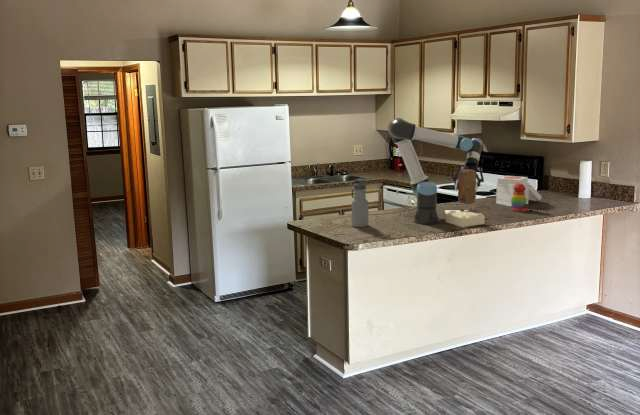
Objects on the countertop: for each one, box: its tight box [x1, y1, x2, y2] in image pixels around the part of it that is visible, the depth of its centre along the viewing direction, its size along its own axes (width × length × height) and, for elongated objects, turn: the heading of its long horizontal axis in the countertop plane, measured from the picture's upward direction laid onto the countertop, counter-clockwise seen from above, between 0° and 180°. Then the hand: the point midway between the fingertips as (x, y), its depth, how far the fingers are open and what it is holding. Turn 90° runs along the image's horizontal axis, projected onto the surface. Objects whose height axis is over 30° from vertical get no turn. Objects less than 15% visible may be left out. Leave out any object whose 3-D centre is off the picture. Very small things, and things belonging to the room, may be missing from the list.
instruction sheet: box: [444, 209, 462, 215], centre depth 397 cm, size 10×14×1 cm
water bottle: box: [351, 178, 369, 228], centre depth 363 cm, size 10×10×28 cm
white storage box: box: [495, 175, 542, 207], centre depth 424 cm, size 19×30×18 cm, turn 119°
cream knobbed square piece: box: [445, 209, 486, 228], centre depth 366 cm, size 16×16×6 cm
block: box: [457, 169, 477, 205], centre depth 364 cm, size 11×8×20 cm
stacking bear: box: [510, 183, 529, 213], centre depth 399 cm, size 11×10×18 cm
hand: (465, 190), depth 362 cm, fingers closed on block, 11 cm apart
